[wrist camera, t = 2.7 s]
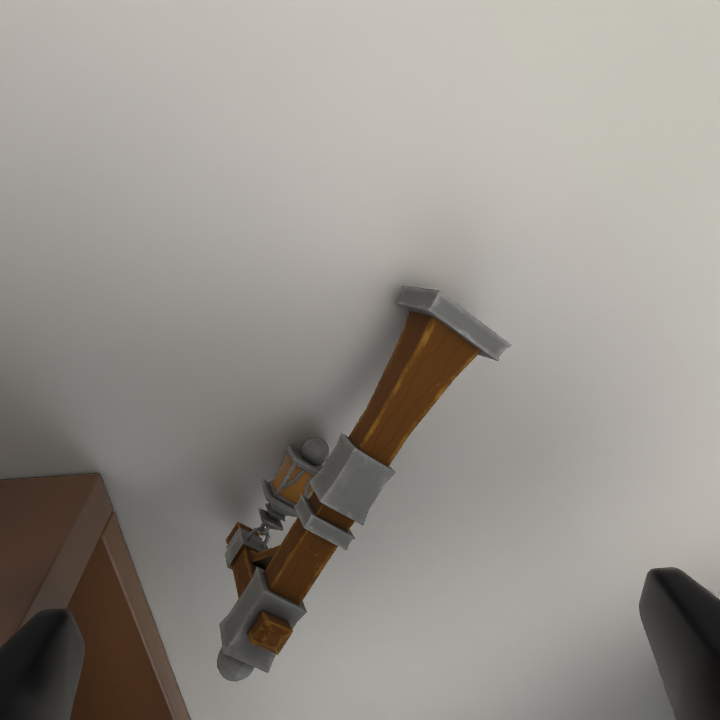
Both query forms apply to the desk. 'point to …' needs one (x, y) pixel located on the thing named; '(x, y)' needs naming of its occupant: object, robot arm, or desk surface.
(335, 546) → the grey and wood assembly
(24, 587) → the shelf
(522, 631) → the desk surface
